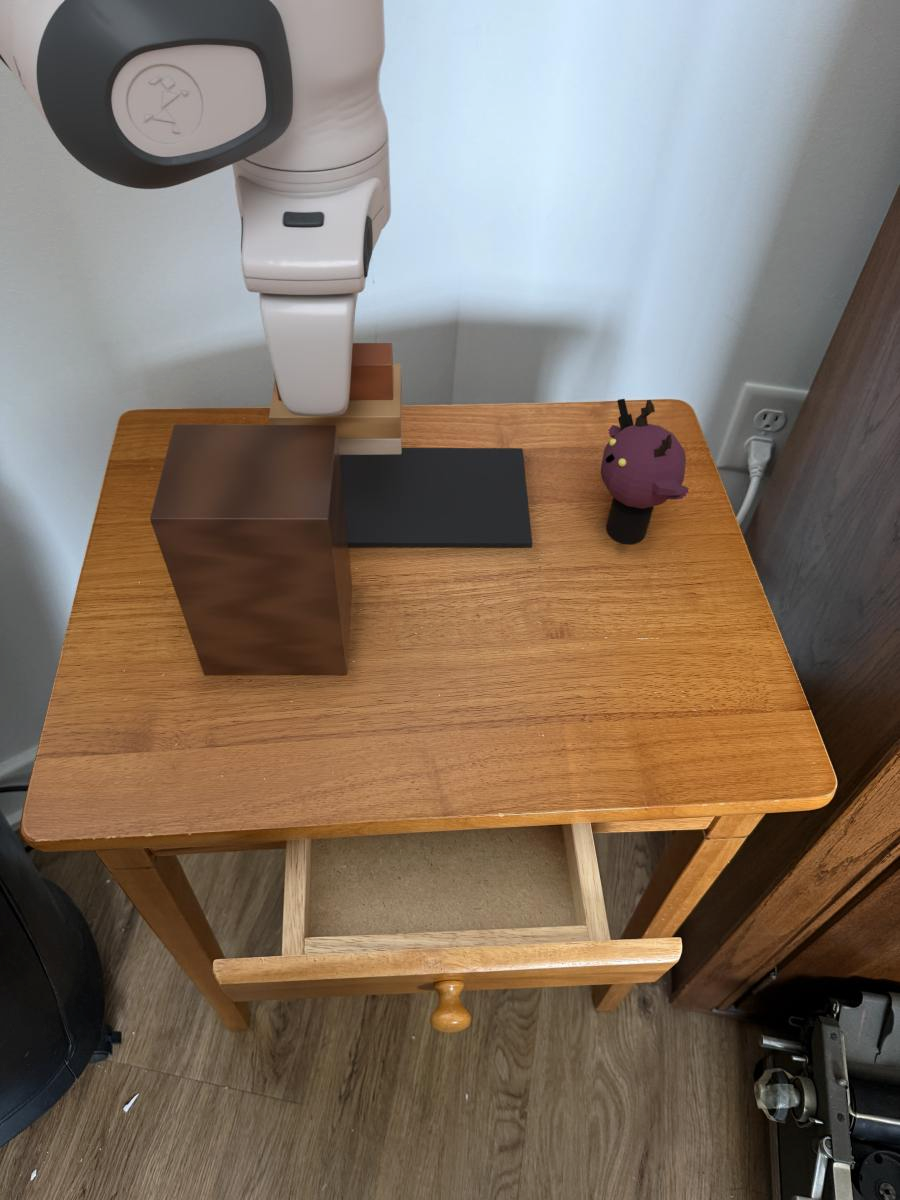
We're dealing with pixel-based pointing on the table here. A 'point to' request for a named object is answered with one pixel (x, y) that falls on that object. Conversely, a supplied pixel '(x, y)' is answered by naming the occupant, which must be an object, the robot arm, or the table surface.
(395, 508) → the mat
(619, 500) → the figurine
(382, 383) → the stepped wooden block
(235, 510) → the riser
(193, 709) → the table surface
